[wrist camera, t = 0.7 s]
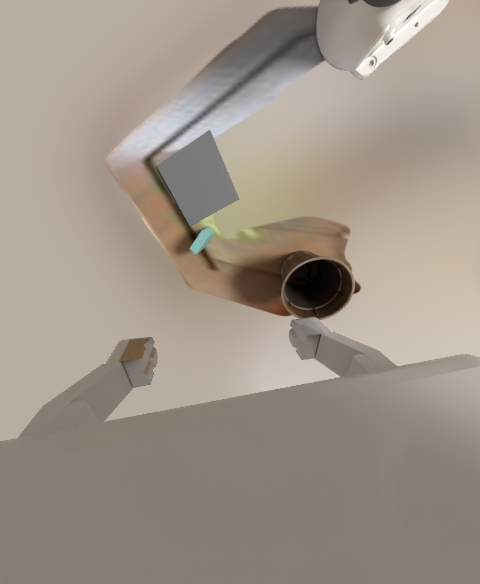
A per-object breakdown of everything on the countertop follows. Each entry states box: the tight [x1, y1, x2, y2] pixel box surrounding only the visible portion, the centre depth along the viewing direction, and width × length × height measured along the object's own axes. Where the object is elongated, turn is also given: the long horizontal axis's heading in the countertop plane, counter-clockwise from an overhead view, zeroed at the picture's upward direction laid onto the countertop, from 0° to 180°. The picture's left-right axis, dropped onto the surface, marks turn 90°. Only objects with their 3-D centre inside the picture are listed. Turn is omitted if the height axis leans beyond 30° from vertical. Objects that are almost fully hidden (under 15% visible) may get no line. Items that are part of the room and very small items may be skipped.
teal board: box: [189, 227, 216, 254], centre depth 49 cm, size 2×6×9 cm, turn 140°
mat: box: [157, 130, 239, 226], centre depth 47 cm, size 16×16×1 cm
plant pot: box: [281, 251, 355, 320], centre depth 48 cm, size 16×16×16 cm
